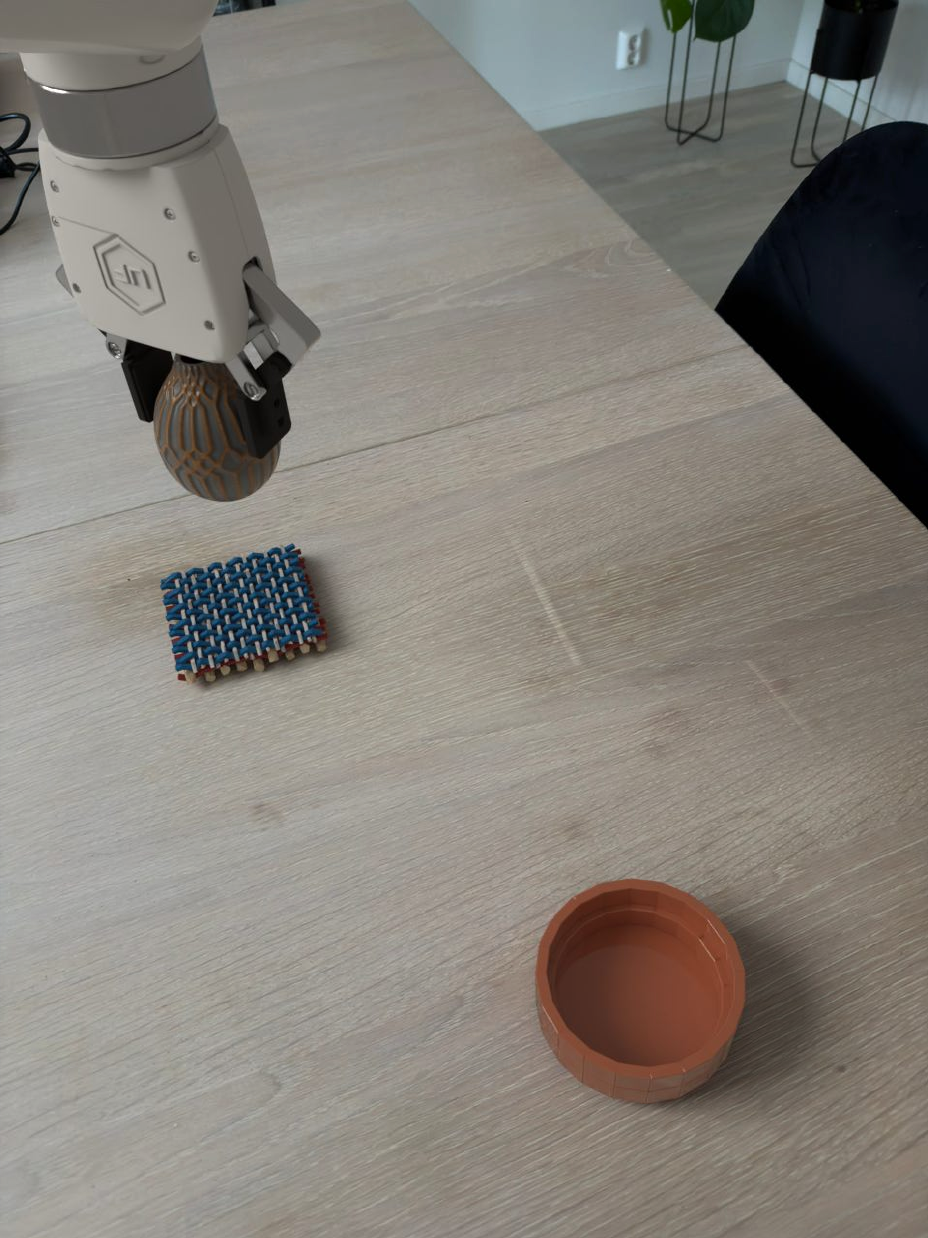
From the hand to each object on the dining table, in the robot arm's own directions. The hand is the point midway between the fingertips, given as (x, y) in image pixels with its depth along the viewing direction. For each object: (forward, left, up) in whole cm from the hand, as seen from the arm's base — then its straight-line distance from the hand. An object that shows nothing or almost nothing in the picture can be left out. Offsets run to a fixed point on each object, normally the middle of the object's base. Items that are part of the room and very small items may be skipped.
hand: (215, 423), depth 61 cm
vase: (0, 0, -4) cm, 4 cm away
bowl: (-12, -31, -20) cm, 39 cm away
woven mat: (+2, +4, -20) cm, 20 cm away
